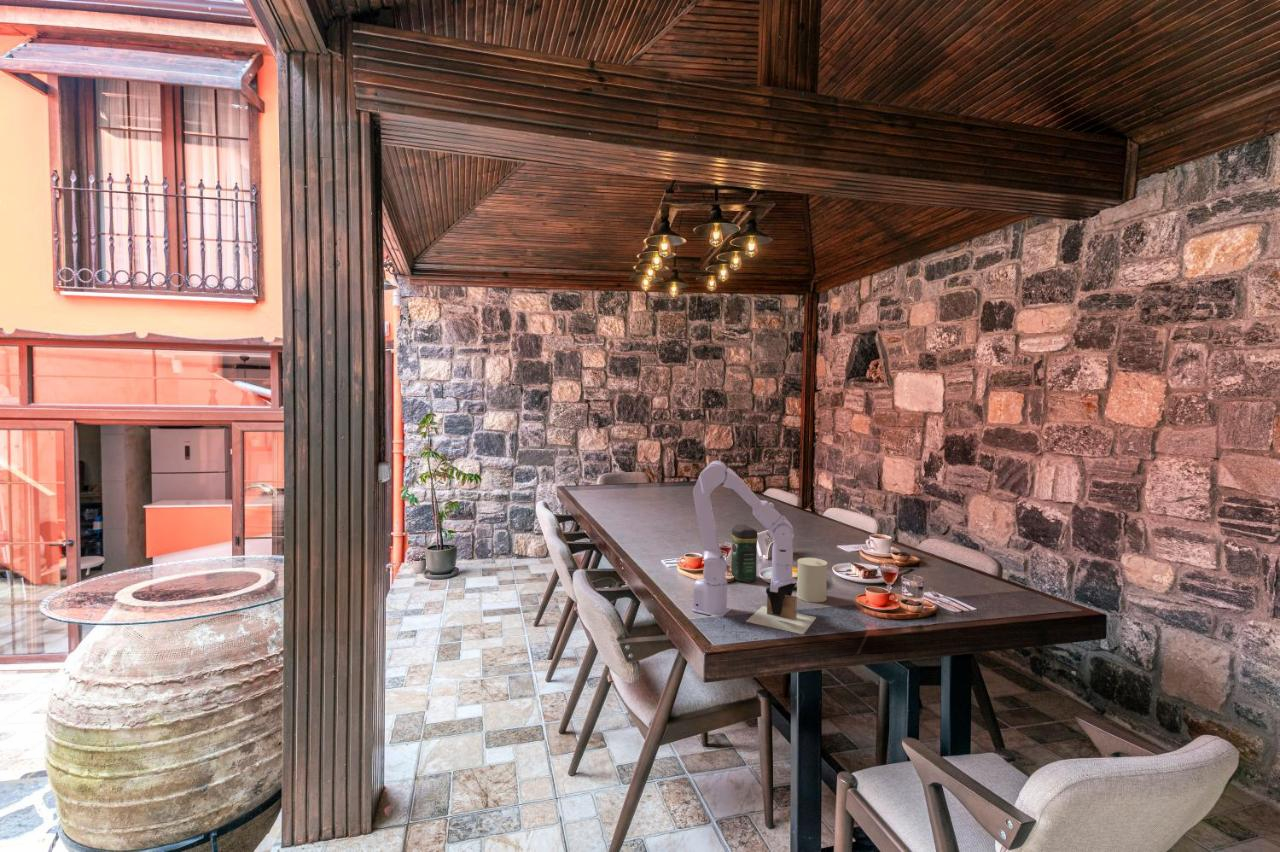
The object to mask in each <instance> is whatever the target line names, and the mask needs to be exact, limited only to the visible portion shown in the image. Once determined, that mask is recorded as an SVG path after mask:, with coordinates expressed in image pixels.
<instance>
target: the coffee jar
mask: <svg viewBox="0 0 1280 852" xmlns="http://www.w3.org/2000/svg"><path fill="white" fill-rule="evenodd" d="M731 530H732V531H731V545H732V547H731V563H730V564H731V566H730V574H731V573H732V575H733V576H734V578H733V579H734V580H736V581H737V582H744V583H751V582H754V581H756V580H757V556H758V555H757V553H758V552H757V550H758V530H757V529H754V528H753V527H751V526H748V525H747V524H735V525H734V526H733V527H732V529H731ZM732 575H731V576H732Z"/></svg>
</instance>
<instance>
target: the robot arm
mask: <svg viewBox="0 0 1280 852" xmlns="http://www.w3.org/2000/svg"><path fill="white" fill-rule="evenodd" d="M699 473H700V474H699V476H698V478H697V481H696V483H695V485H694V487H693V489H692V496H693V501H694V508H695V512H696V518H697V524H698V529H699V533H700V538H701V544H702V550H703V563H704V566H703V571H702V576H703V577H702V578H697V579H696V581H694V582H695V583H694V587H693V605H692V606H693V607H692V609H691V611H692V612H694V613H698V614H701V615H707V616H716V617H724V616H725V615H726V614H727V613H728V612H729V611H731V610H732V609H733V608H732V607H730V606H728V579H727V578H726V572H727V569H728V562H727V560H726V559H725V558H724V556H723V553H722V549H721V547H720V543H719V537H718V532H717V526H716V523H715V522H716V521H715V516H714V510H713V506H712V500H711V494H712V493H713V492H714V490H715V489H716V488H717V487H718V486H720V485H721V484H723V485H722V488H727V489H730V490H733V491H734V492H735V493H736V494H738V496H739V497H741V499H743V500H744V501H745V502H746V503H747V504H748V506H749V507H751V508H752V515H753V516H754V517H755V519H756V520H757V521H758V522H759V523H760V524H761V525H762V526H763V527H764V528H765V529H766V530H767V531H769V532H770V533H772V537H773V542H772V543H773V545H772V548H771V552H772V553H771V576H770V585H769V587H767V588H765V593H766V596H767V595H768V597H769V599H770V603H771V607H772V612H773V614H777V615H780V614H781V612H782V606H783V601H784V598H785V595H790V596H793V595H792V594H793V592H794V589H795V587H796V586H797V579H794V578H793V559H794V549H793V547H794V546H793V544H794V543H793V540H794V538H795V534H794V527H793V525H792V524H791V522H790V520H788V519H787V517H786V516H785V515H781V513H780V512H779V511H778V510H777V509H775V505H774V503H773V502H769V501H768V500H761V499H760V498H759V497H758V496H757V495H756V494H755V492H754V491H752V489H750V487H749V486H748V485H747V484H746V483H745V481H743V479H742V478H741V477H740V476H739V475H738V474H737V473H736V472H735V471H734V470H732V469H731V468H730V467H727V465H726V464H725V463H724V462H723V461H721V460H713V461H710V463H708V465H707V466H705V467H704V469H702V471H701V472H699Z"/></svg>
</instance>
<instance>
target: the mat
mask: <svg viewBox="0 0 1280 852" xmlns="http://www.w3.org/2000/svg"><path fill="white" fill-rule="evenodd" d="M816 619H817V617H816V616H814V615H813V616H812V615H809V614H803V613H798V612H797V616H796V619H795V620H792V619H788V618H783V617H778V616H774V615H769V614H767V606H766V605H762V606H761V607H760V608H759V609H757V610H756V611H755V613H753V614H752V615H751V616H749V618H748V619H746V620H745V622H747V623H751V624H755V625H760V626H764V627H768V628H774V629H777V630H782V631H787V632H791V633H795V634H798V635H799V634H800V635H804V634H805V632H807V630H808V629H809V628H810V626H811V625H812V624H813V623H814V621H815V620H816Z"/></svg>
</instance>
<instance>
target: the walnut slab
mask: <svg viewBox="0 0 1280 852" xmlns="http://www.w3.org/2000/svg"><path fill="white" fill-rule="evenodd" d="M766 596H767V597H766V598H767V599H766V601H767V602H766V607H767V614H769V615H774V616H778V617H783V618H788V619H792V620H795V619H796V616H797V613H798V612H797V610H798V606H797V605H798V598H797V596H795V595H791V596H790V595H785V598H784V601H783V606H782V612H781V614H780V615H777V614H773V612H772V607H771V603H770V599H769V597H768V595H767V594H766Z"/></svg>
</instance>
